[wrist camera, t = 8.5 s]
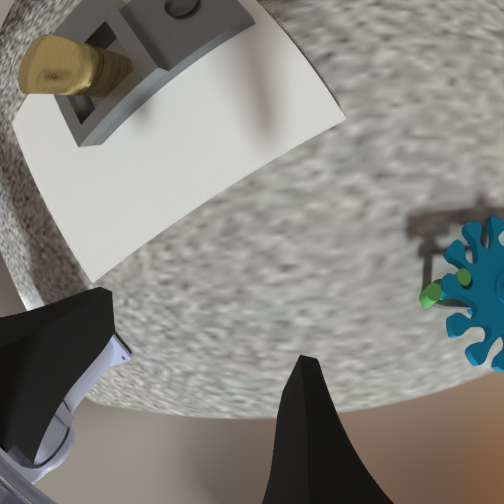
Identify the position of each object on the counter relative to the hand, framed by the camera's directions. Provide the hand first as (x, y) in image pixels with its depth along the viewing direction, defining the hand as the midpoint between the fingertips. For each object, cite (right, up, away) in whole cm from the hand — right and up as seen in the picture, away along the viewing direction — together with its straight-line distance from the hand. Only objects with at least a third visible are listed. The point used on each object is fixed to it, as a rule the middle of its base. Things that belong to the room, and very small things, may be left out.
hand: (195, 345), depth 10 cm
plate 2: (-5, +16, +4) cm, 17 cm away
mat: (-7, +13, +6) cm, 16 cm away
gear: (+18, +2, +6) cm, 19 cm away
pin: (-7, +15, +5) cm, 17 cm away
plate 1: (-8, +16, +4) cm, 19 cm away
